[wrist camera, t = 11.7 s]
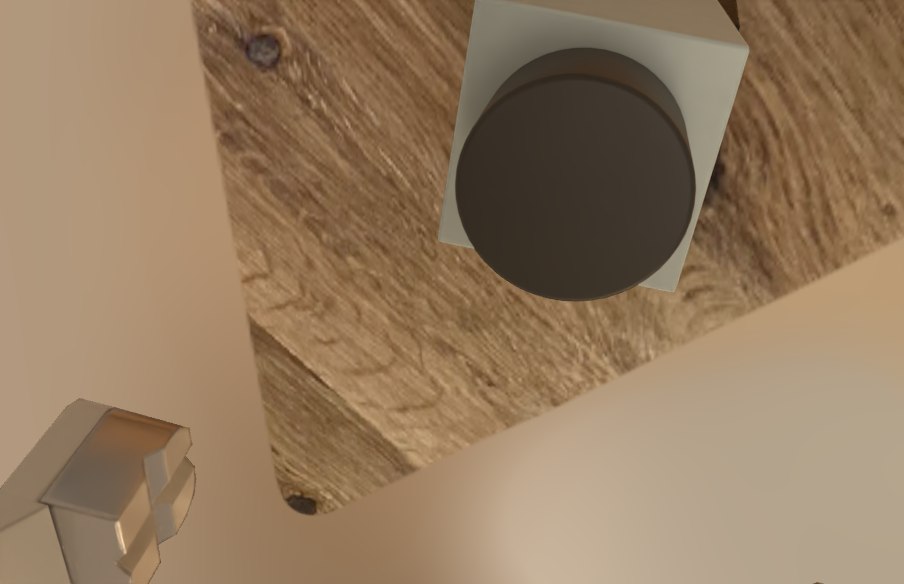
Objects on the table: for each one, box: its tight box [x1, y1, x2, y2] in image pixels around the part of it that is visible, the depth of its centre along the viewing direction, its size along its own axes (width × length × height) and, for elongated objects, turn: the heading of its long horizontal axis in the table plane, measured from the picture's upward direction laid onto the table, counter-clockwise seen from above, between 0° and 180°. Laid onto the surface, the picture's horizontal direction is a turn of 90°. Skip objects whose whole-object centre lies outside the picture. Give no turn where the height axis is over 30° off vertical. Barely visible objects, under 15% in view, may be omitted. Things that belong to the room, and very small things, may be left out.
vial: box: [438, 0, 749, 301], centre depth 18 cm, size 16×4×4 cm
